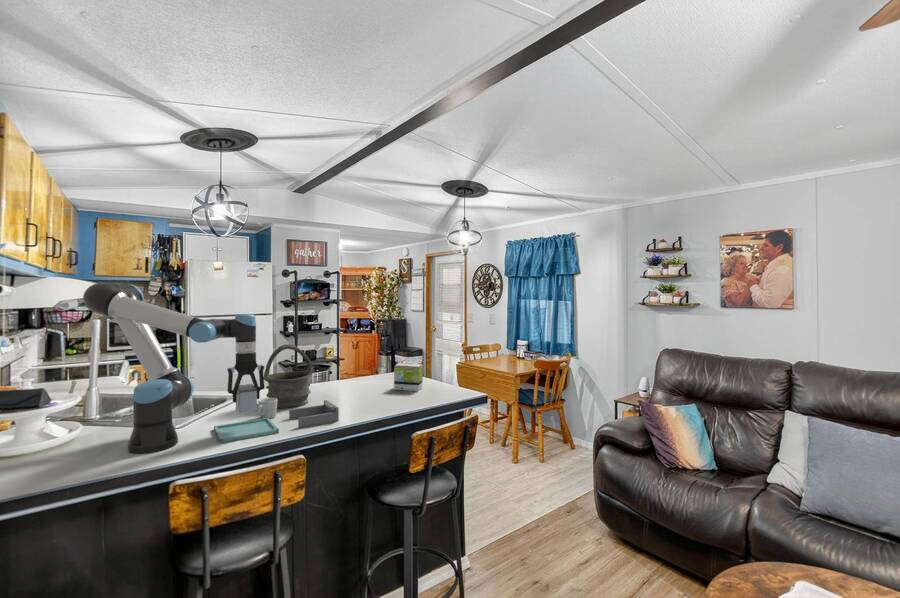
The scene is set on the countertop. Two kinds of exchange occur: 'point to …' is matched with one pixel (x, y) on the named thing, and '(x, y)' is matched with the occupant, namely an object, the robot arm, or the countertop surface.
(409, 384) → the tea box
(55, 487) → the countertop surface
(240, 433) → the tray
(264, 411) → the cup
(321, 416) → the tray
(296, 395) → the dark handled basket
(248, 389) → the block
